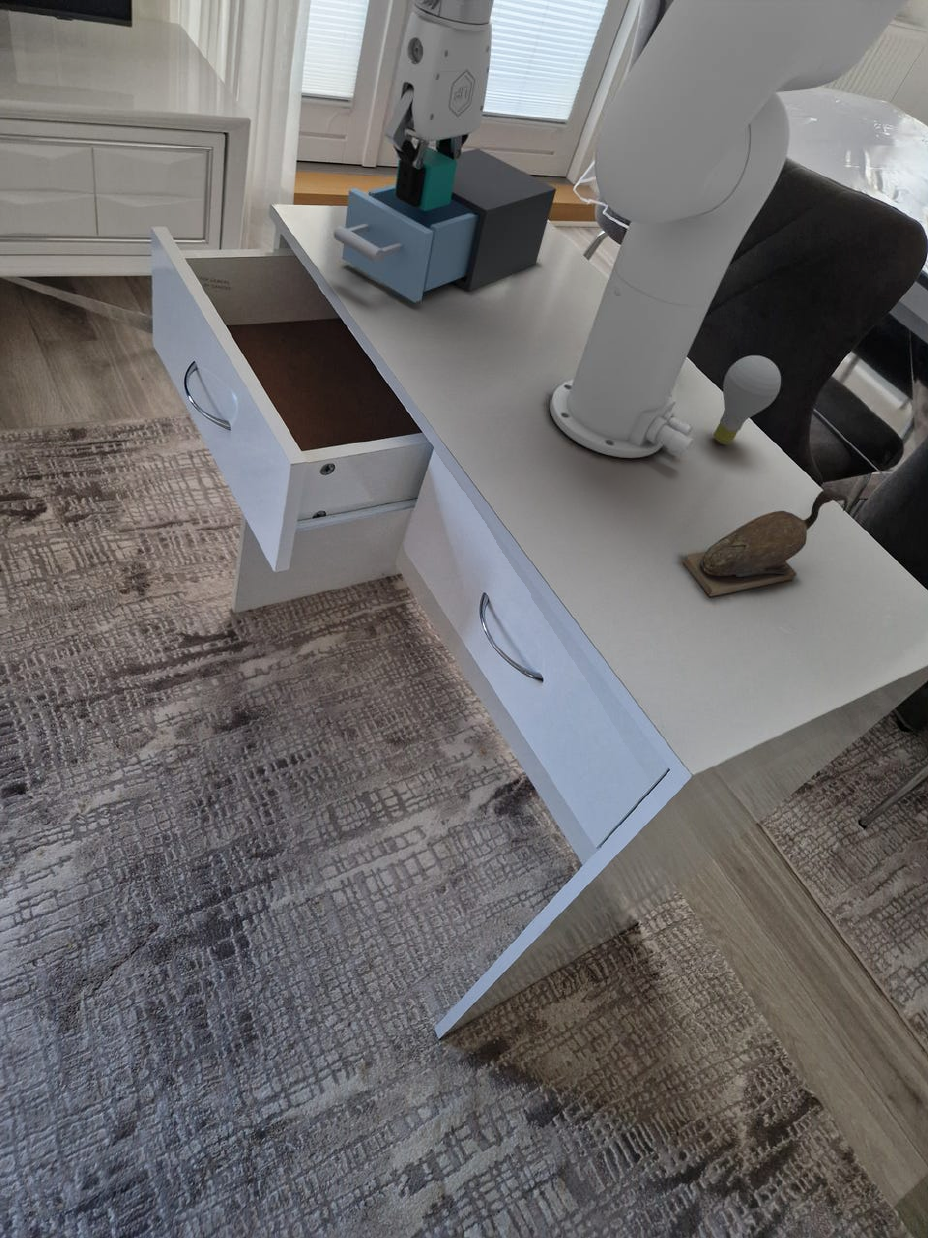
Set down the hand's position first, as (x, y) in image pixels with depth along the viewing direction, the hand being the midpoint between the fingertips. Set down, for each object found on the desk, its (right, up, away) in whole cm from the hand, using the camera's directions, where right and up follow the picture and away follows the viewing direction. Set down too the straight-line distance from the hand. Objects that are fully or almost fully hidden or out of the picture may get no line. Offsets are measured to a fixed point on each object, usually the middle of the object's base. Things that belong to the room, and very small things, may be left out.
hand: (423, 195), depth 91 cm
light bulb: (+32, -28, -4) cm, 43 cm away
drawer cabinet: (+5, 0, +14) cm, 15 cm away
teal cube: (0, 0, 0) cm, 0 cm away
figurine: (+31, -43, -17) cm, 55 cm away
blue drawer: (-3, -6, +5) cm, 9 cm away
